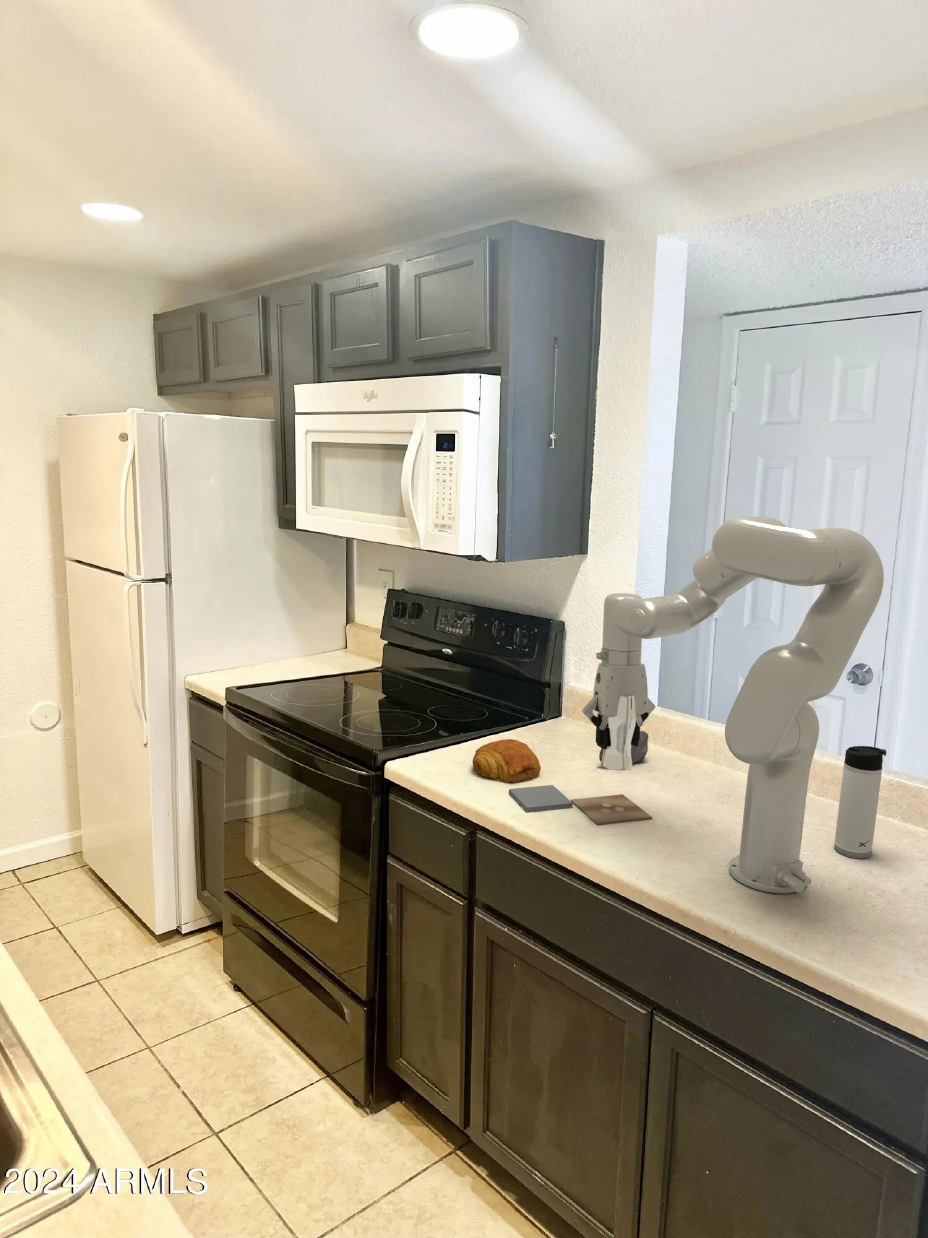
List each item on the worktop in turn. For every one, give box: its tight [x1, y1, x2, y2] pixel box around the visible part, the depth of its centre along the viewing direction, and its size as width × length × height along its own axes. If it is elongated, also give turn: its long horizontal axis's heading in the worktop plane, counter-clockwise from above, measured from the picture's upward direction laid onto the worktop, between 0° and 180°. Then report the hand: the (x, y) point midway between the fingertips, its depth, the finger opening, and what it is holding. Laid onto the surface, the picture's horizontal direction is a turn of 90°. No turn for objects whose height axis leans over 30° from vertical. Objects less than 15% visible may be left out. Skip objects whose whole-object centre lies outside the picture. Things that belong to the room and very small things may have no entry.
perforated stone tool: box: [598, 730, 649, 764], centre depth 196 cm, size 15×5×7 cm, turn 121°
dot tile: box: [570, 794, 653, 826], centre depth 169 cm, size 12×12×1 cm
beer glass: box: [600, 695, 637, 771], centre depth 165 cm, size 7×7×15 cm
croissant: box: [472, 738, 542, 783], centre depth 188 cm, size 14×16×8 cm
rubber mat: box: [508, 784, 574, 813], centre depth 173 cm, size 10×10×1 cm
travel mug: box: [833, 745, 887, 860], centre depth 152 cm, size 6×7×20 cm
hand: (617, 745), depth 166 cm, fingers closed on beer glass, 6 cm apart
